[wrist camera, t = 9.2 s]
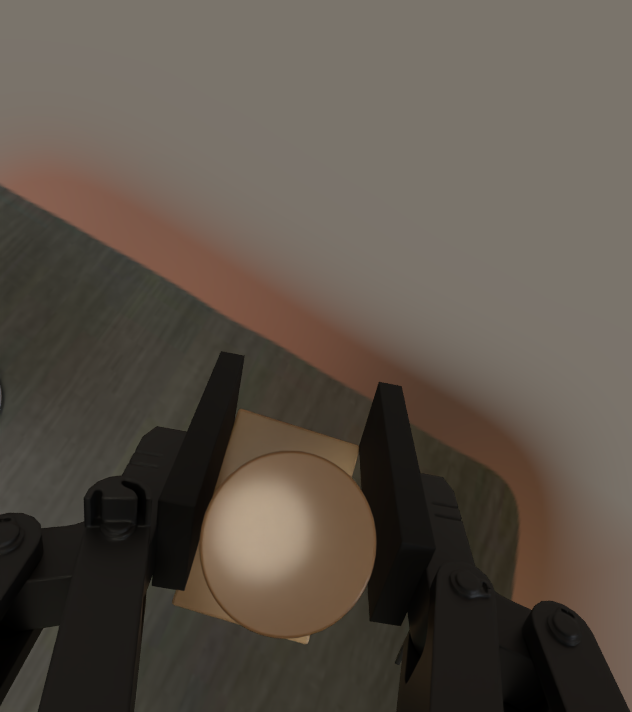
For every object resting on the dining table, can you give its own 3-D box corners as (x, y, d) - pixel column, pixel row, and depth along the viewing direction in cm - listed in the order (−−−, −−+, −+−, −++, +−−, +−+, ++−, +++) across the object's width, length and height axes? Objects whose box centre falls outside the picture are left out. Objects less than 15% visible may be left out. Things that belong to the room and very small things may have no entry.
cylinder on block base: (348, 452, 20) (461, 392, 9) (300, 627, 18) (371, 820, 7) (240, 418, 20) (224, 315, 9) (181, 591, 18) (67, 731, 7)
